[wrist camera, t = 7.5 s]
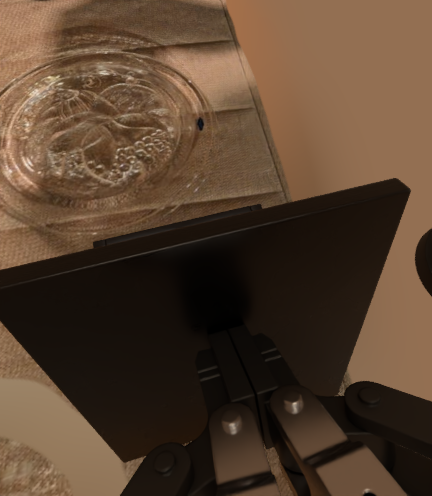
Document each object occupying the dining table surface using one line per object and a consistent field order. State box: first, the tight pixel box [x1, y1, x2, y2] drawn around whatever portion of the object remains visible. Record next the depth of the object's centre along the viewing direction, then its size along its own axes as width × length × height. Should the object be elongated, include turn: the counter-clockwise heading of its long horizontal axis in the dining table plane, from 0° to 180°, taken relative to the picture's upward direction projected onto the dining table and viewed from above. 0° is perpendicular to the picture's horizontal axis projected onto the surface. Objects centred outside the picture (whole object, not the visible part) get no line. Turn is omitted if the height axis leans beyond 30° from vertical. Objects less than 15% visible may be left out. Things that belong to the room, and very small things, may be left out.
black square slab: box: [0, 178, 411, 463], centre depth 15 cm, size 15×13×1 cm
